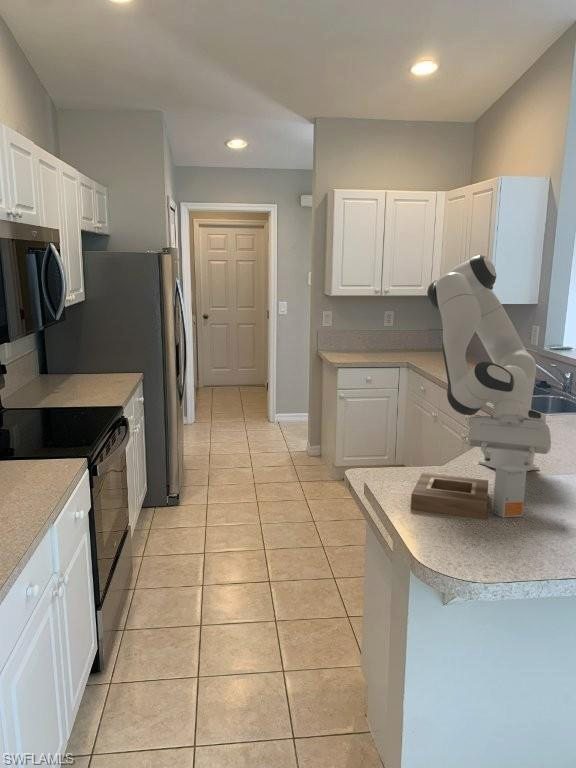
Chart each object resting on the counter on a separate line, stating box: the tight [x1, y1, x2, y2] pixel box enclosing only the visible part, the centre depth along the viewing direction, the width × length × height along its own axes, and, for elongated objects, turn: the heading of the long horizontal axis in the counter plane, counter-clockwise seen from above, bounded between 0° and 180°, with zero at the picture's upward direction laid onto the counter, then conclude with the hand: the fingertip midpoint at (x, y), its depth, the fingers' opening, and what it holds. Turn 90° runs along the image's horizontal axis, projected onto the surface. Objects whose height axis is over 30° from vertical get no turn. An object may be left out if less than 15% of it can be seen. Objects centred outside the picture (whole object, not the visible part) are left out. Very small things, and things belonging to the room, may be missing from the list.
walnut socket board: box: [410, 472, 489, 520], centre depth 152 cm, size 22×18×4 cm
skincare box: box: [492, 466, 528, 519], centre depth 143 cm, size 6×4×12 cm
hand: (506, 462), depth 147 cm, fingers open, 8 cm apart
